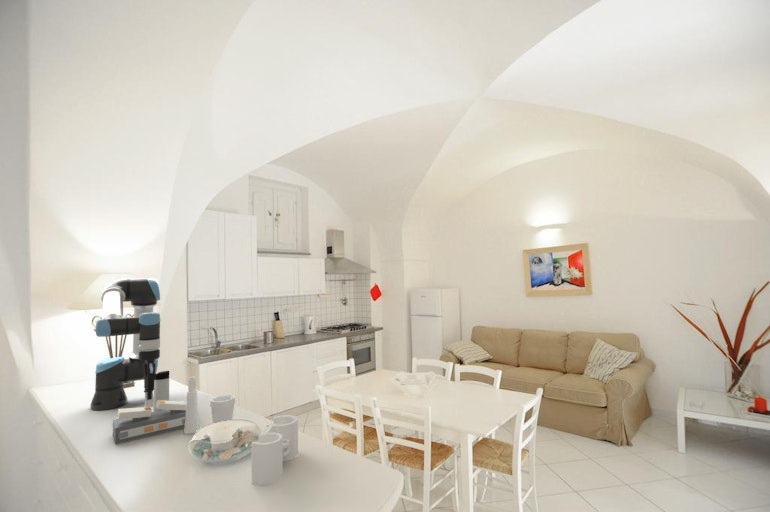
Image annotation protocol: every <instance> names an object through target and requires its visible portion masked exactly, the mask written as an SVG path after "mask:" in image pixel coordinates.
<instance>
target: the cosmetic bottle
mask: <svg viewBox="0 0 770 512" xmlns="http://www.w3.org/2000/svg"><path fill="white" fill-rule="evenodd" d="M187 386H188V387H187V388H188V391H187V393H186V403H187V404H186V419H185V427H184V428H183V434H185V435H191V434H195V433H194V432H196V430H198V429H199V428H200V423H199V422H200V421H199V411H198V410H199V407H198V390H197V379H196V376H189V379H188V385H187ZM196 433H197V432H196Z"/></svg>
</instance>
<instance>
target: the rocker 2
mask: <svg viewBox="0 0 770 512" xmlns="http://www.w3.org/2000/svg"><path fill="white" fill-rule="evenodd" d="M186 404H187V401H181V400H169V401H166V400H157V403H156V407H157V408H158V409H160V410H186Z"/></svg>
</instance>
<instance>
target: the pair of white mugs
mask: <svg viewBox="0 0 770 512" xmlns="http://www.w3.org/2000/svg"><path fill="white" fill-rule="evenodd" d="M272 420H273V423H266V429H264V431H263V432H262V433H259V434H258V441H252V442H251V484H252V485H256V486H257V485H258V486H261V487H262V486H270V485H275V484H276V483H278V482H280V481H281V480H282V479H283V475H284V470H283V463H284V462H288V461H289V462H290V461H291V460H293V459H295V458H296V457H298V454H299V423H298V421H299V419H298V416H295V415H291V414H290V415H289V414H286V415H285V414H283V415H274V416H273V419H272Z"/></svg>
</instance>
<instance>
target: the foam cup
mask: <svg viewBox="0 0 770 512" xmlns="http://www.w3.org/2000/svg"><path fill="white" fill-rule="evenodd" d="M209 401H210V403H209V404H210V409H211V417H212V424H213V423H217V422H221V421H227V420H232V421H233V416H234V409H235V403H236V395H234V394H233V395H232V394H224V395H223V394H222V395H218V396H215V397H212V398H210V400H209Z"/></svg>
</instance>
